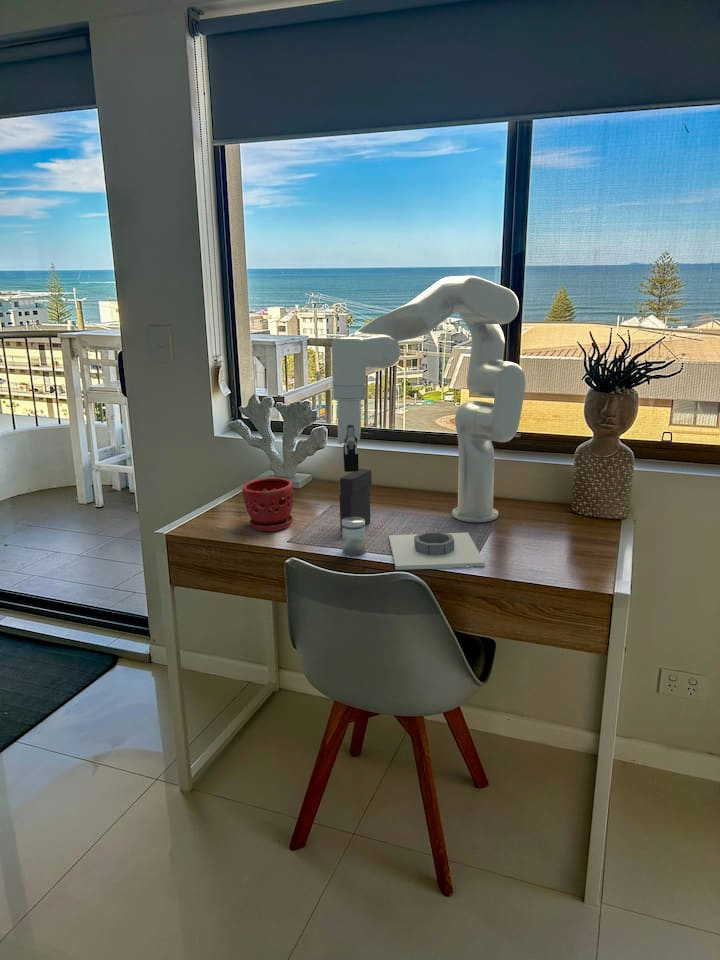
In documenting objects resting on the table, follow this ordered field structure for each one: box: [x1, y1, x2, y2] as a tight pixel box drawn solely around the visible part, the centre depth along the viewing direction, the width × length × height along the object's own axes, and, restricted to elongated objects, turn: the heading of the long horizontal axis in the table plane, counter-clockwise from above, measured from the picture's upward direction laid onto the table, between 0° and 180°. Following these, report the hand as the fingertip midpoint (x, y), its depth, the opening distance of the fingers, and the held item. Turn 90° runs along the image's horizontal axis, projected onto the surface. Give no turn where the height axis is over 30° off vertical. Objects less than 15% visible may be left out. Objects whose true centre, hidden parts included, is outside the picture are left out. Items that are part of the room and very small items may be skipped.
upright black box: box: [338, 468, 373, 532], centre depth 178 cm, size 11×4×15 cm, turn 152°
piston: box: [341, 517, 366, 557], centre depth 163 cm, size 6×6×8 cm
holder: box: [388, 531, 486, 571], centre depth 162 cm, size 20×20×4 cm
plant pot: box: [242, 477, 294, 532], centre depth 182 cm, size 13×13×12 cm
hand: (350, 466), depth 158 cm, fingers open, 9 cm apart
